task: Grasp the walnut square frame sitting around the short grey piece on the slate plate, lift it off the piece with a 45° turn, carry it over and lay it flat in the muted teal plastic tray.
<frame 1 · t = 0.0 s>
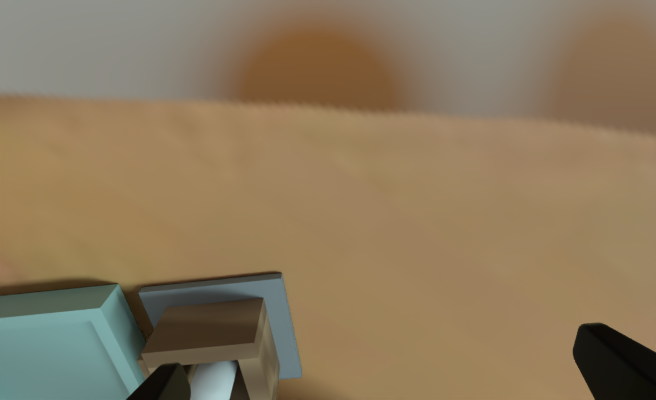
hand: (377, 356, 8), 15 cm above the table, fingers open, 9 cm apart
grey piece: (227, 332, 27), on the table
tray: (61, 367, 29), on the table
walnut square frame: (226, 338, 27), point 1 cm above the table, touching grey piece
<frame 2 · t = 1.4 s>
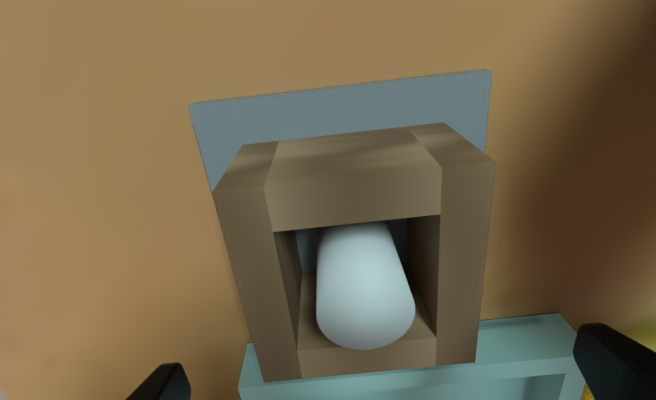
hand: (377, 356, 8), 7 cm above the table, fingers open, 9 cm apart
grey piece: (349, 214, 14), on the table
walnut square frame: (350, 221, 14), point 1 cm above the table, touching grey piece
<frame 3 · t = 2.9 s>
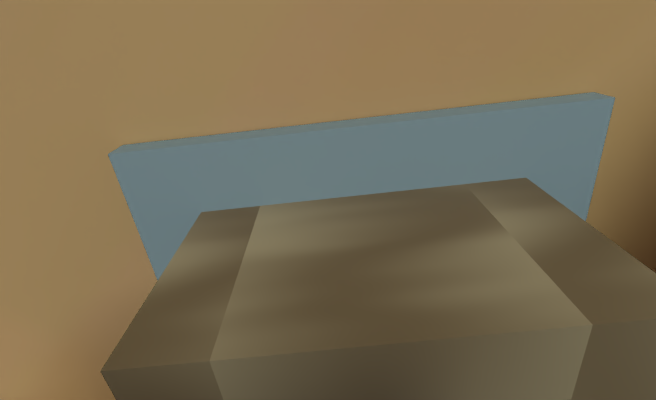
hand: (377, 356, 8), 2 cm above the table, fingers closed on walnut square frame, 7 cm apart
grey piece: (367, 301, 10), on the table
walnut square frame: (370, 317, 9), point 1 cm above the table, touching gripper, grey piece
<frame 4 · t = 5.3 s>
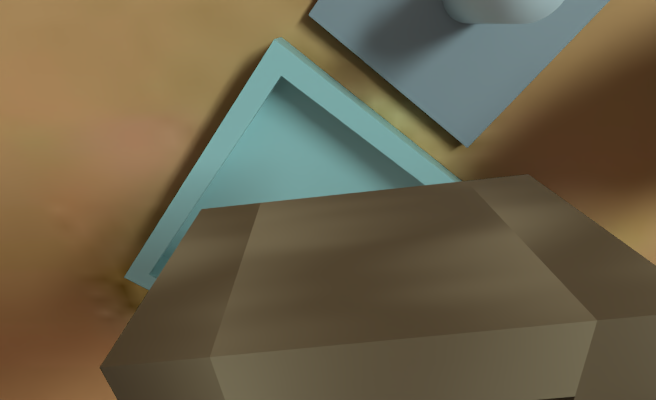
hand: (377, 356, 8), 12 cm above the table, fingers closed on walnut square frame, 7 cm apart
tray: (316, 231, 21), on the table
walnut square frame: (371, 315, 9), point 11 cm above the table, touching gripper
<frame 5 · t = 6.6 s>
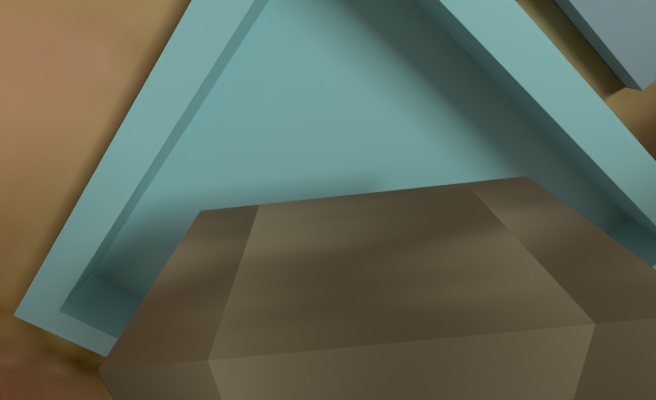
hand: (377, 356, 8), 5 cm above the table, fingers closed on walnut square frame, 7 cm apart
tray: (354, 237, 13), on the table
walnut square frame: (370, 316, 9), point 4 cm above the table, touching gripper
when the fingers open (4 cm above the table, at t = 7.8 s): walnut square frame drops 2 cm, resting on tray.
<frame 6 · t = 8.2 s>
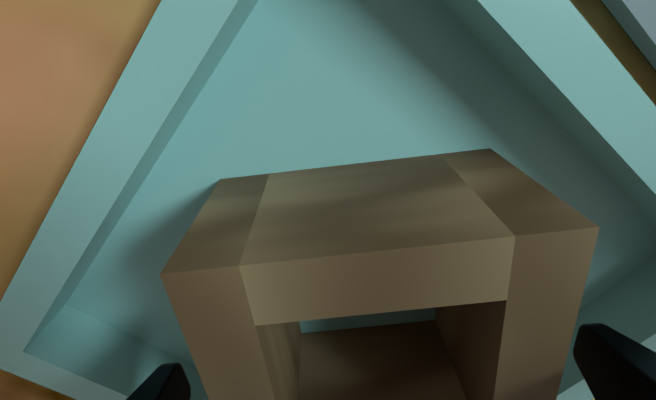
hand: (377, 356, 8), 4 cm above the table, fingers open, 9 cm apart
tray: (360, 262, 11), on the table
walnut square frame: (363, 272, 11), point 1 cm above the table, touching tray
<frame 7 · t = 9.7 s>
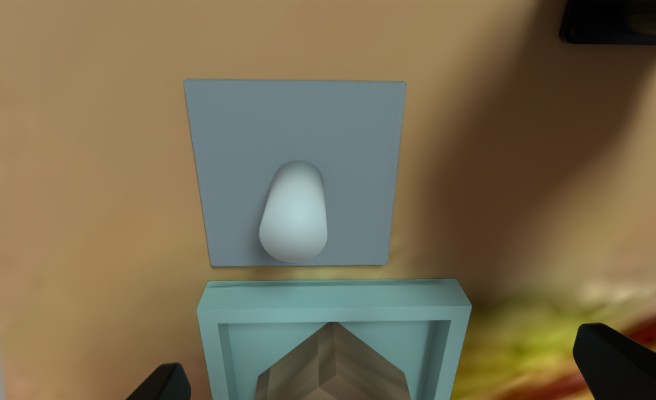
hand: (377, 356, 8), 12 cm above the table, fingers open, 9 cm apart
grey piece: (298, 179, 19), on the table
tray: (331, 367, 25), on the table
walnut square frame: (331, 374, 24), point 1 cm above the table, touching tray
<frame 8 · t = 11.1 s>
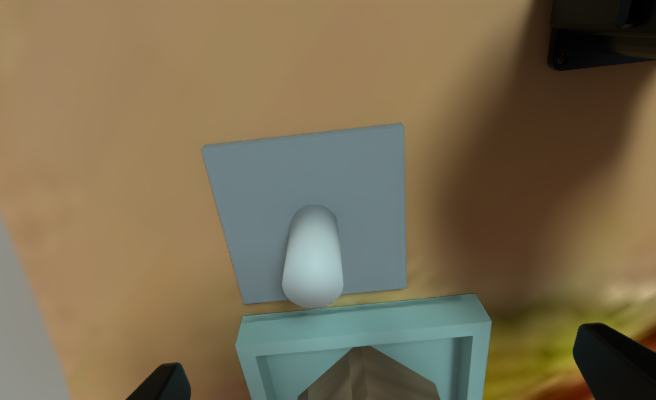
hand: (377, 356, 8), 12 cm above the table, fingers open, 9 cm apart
grey piece: (314, 220, 20), on the table
tray: (365, 383, 26), on the table
walnut square frame: (366, 390, 26), point 1 cm above the table, touching tray
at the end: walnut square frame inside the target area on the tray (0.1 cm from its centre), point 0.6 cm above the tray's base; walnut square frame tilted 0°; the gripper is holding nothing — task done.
